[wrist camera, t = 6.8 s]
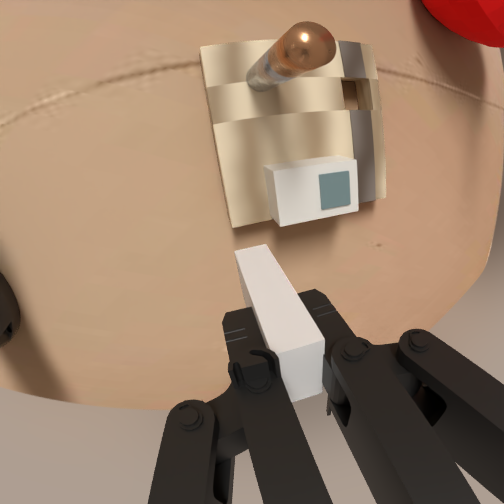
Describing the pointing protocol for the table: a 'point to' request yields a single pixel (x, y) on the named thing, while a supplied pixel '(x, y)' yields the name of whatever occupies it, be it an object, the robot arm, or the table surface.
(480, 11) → the vase
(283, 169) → the block
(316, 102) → the panel
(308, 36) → the silver and copper cylinder
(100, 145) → the table surface
